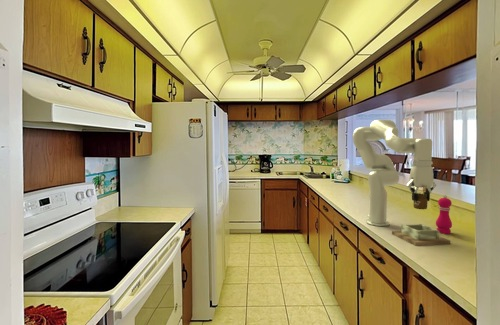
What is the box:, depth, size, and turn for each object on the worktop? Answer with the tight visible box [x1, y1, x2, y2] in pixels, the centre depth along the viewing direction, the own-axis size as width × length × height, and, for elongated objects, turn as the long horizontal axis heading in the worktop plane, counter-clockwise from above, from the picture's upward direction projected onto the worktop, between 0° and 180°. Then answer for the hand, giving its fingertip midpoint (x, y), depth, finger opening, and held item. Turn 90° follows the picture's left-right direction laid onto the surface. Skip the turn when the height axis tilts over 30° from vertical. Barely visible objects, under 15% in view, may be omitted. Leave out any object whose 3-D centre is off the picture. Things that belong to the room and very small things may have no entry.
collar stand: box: [391, 223, 451, 246], centre depth 148 cm, size 18×18×6 cm
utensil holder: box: [413, 185, 428, 210], centre depth 147 cm, size 6×6×12 cm
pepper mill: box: [435, 194, 453, 235], centre depth 158 cm, size 7×7×20 cm
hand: (420, 200), depth 147 cm, fingers closed on utensil holder, 5 cm apart
